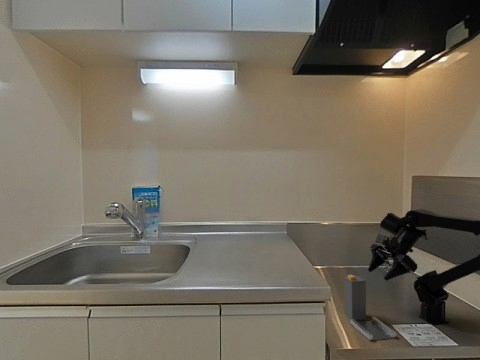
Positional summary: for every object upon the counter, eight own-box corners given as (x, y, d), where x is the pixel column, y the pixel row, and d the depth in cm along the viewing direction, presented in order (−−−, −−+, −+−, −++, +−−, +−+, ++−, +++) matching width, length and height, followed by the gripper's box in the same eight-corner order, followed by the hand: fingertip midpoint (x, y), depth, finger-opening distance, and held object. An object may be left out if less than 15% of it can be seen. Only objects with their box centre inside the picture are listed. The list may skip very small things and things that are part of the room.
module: (358, 312, 112) (357, 272, 112) (366, 319, 107) (365, 277, 107) (344, 314, 112) (344, 273, 111) (352, 320, 107) (351, 278, 106)
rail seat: (374, 321, 106) (374, 316, 106) (396, 337, 95) (396, 332, 95) (350, 323, 104) (350, 319, 104) (369, 340, 94) (369, 335, 94)
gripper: (374, 221, 120) (347, 253, 118) (409, 230, 102) (377, 267, 100) (393, 241, 122) (367, 272, 120) (431, 253, 103) (400, 290, 102)
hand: (376, 275), depth 110 cm, fingers open, 9 cm apart
